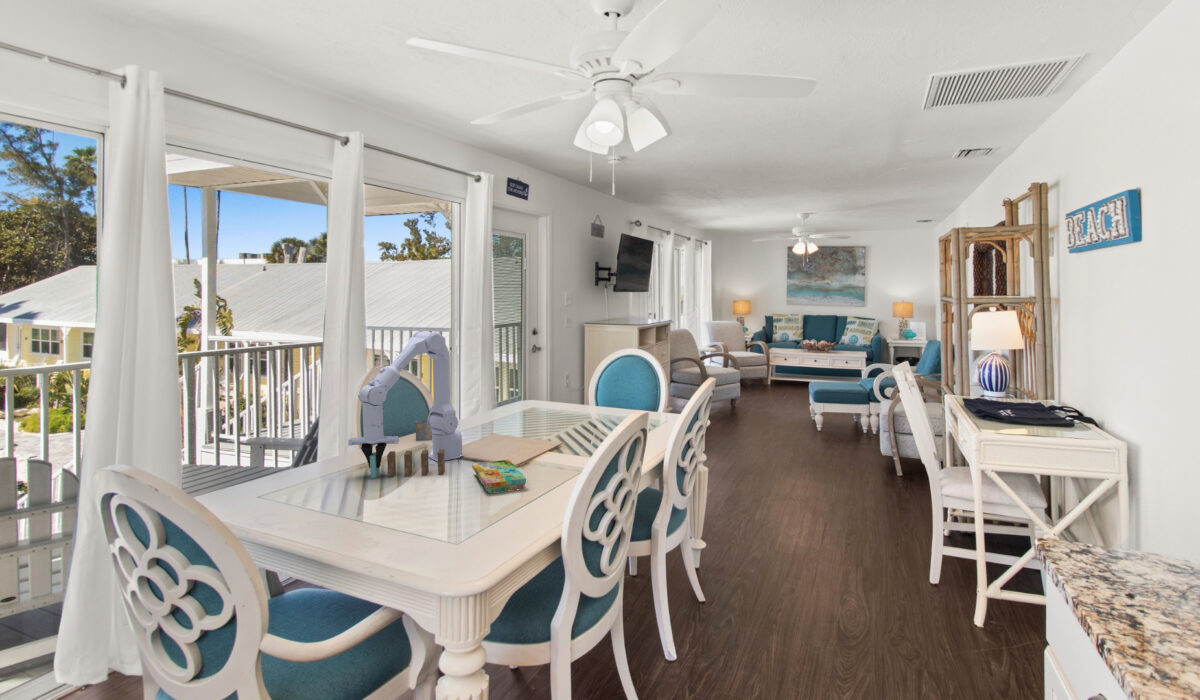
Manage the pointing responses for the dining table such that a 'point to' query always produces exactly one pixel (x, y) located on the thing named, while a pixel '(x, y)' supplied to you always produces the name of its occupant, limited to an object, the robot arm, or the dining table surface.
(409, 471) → the domino
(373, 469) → the domino
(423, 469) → the domino
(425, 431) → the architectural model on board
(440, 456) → the domino
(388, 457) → the domino
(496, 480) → the puzzle game
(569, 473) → the dining table surface
